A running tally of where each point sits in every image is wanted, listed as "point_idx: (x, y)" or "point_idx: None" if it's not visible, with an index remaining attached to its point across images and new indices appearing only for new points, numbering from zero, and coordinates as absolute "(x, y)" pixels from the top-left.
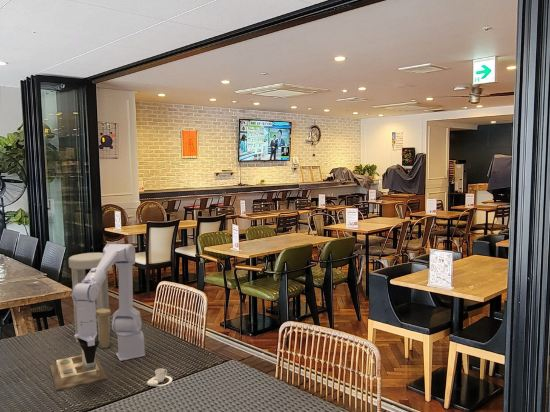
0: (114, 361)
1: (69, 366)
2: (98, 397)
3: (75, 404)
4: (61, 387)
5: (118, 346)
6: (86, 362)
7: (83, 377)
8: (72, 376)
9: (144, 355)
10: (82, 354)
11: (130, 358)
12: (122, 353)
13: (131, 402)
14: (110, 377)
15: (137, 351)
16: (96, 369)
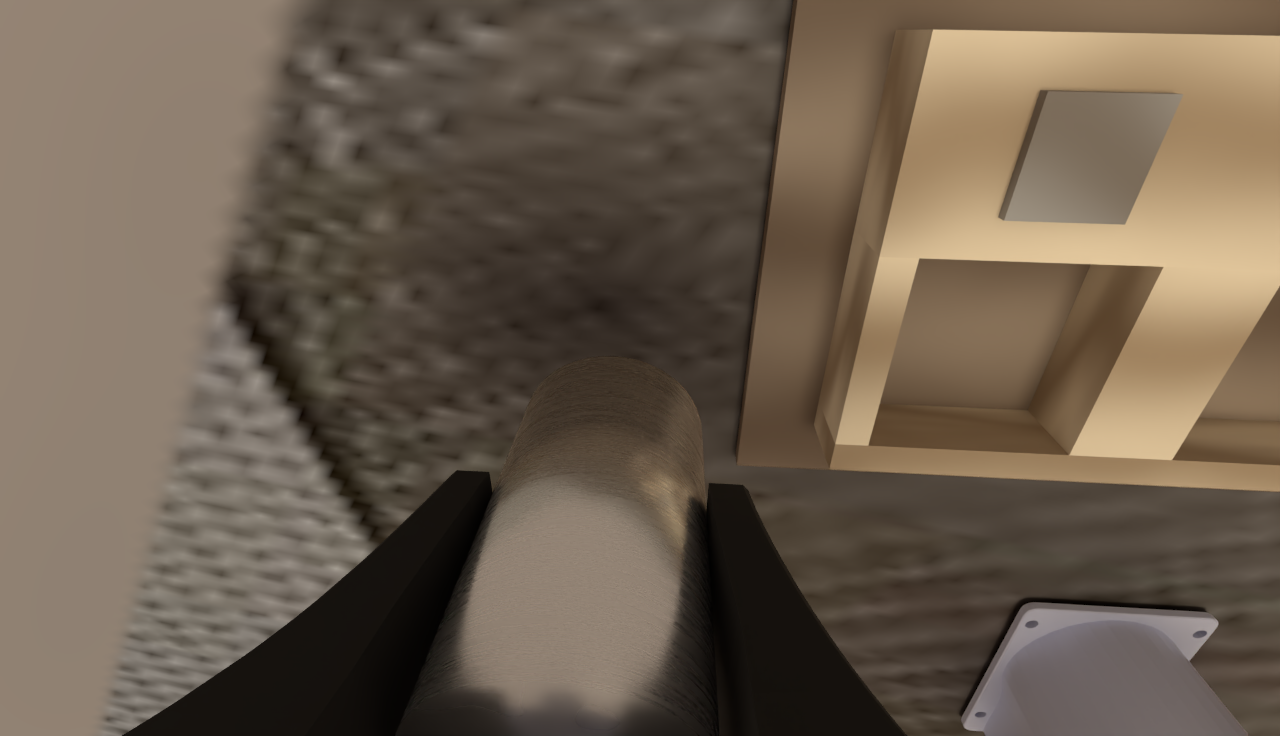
0: (1070, 570)
1: (1260, 207)
2: (412, 327)
3: (337, 110)
4: (821, 12)
5: (1183, 714)
6: (503, 474)
7: (849, 298)
8: (889, 189)
9: (962, 721)
10: (541, 549)
11: (996, 658)
12: (1079, 668)
13: (244, 492)
14: (763, 481)
15: (1014, 734)
16: (859, 450)
